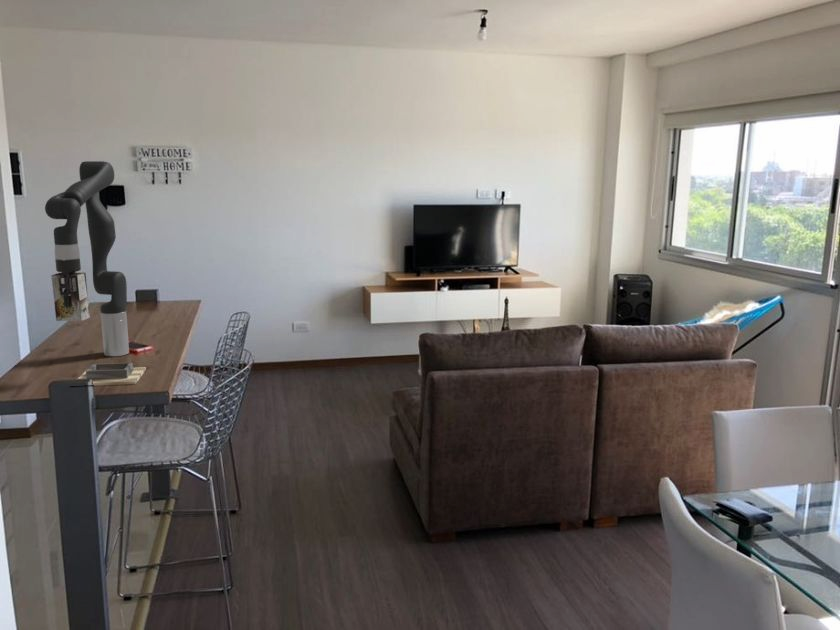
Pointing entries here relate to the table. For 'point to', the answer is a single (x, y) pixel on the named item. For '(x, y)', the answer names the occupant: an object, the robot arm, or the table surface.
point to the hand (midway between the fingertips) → (71, 304)
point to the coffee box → (78, 297)
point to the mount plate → (113, 374)
